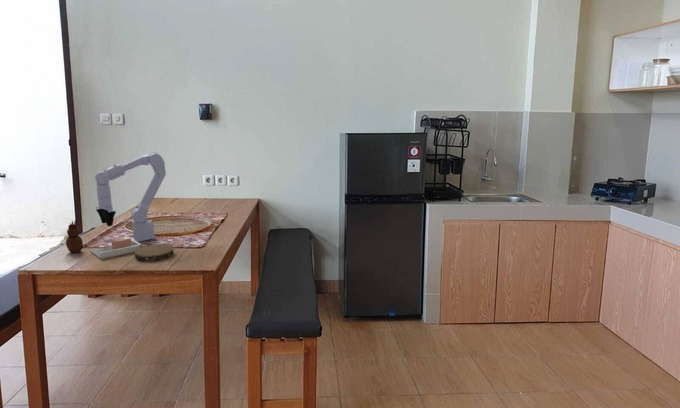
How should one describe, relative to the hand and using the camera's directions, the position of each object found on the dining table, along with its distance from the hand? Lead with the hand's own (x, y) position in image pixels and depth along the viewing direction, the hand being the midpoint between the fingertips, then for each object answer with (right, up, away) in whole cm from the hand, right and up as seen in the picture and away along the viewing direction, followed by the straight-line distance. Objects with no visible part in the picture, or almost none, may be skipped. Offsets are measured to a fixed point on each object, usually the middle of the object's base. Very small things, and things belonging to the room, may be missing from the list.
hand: (107, 224), depth 231 cm
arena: (+9, -12, -11) cm, 19 cm away
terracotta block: (+12, -11, -11) cm, 20 cm away
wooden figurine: (-9, -12, -12) cm, 19 cm away
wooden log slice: (+30, -14, -18) cm, 37 cm away
